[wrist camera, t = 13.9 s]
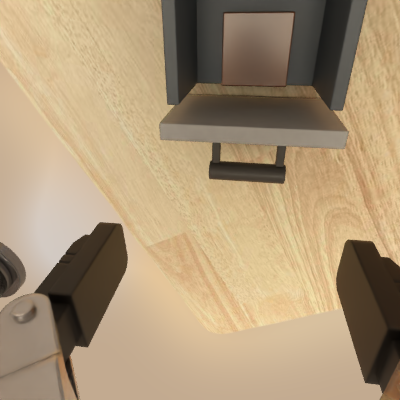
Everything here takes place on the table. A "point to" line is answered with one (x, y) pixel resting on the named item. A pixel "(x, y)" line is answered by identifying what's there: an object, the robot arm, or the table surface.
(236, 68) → the block
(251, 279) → the table surface
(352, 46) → the drawer
